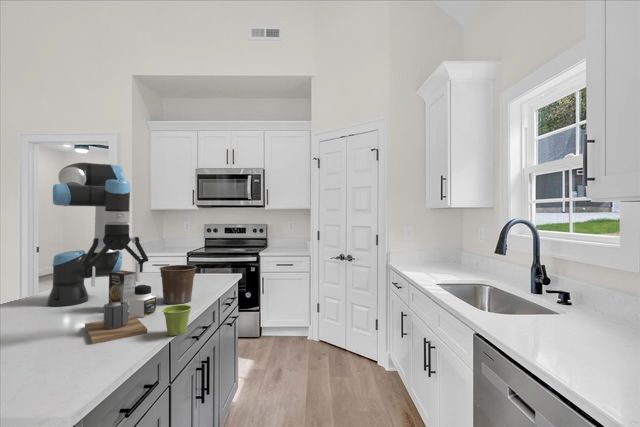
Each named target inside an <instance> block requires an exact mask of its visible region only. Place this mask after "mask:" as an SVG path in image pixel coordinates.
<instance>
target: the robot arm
mask: <svg viewBox="0 0 640 427" xmlns="http://www.w3.org/2000/svg"><path fill="white" fill-rule="evenodd" d="M57 177H58V181H59V183H56V184H54V185H52V203H53V205H54V206H62V207H95V210H94V211H95V215H94V216H95V217H94V238H93V240H92V244H91V246H90V247H89V249H88V250H87V253H86V251H85V250H84V249H83V250H80V249H79V250H72V251H65V252H62V253H61V252H60V253H57V254H56V255H54V257H53V260H52V261H53V263H52V268H53V270H52V288H51V291H50V293H49V295H48V298H47V303H46V304H48V305H47V306H49V305H50V306H49V307H66V306H68V305H69V306H74V305H80V304H83V303H86V302H88V301H89V293H88V291H87V288H86V285H85V279H91V287H93V288H95V287H96V278H104V277H108V278H109V272H113V271H121V268H122V263H123V253H122V251H123V250H126V252H127V253H128V254H129V255H131V256H132V258H133V259H135V260H136V261H137V262H136V263H135V272H136V283H140V281H141V280H140V276H141V275H140V273H143V271H144V270H143V268H144V263H147V262H149V257H148V256H147V254H146V252H145V250H144V248H143V247H142V244H141V243H140V237H139V236H134V237H133V236H132V237H130V224H129V223H130V200H131V183H130V181H128V180H125V173H124V170H123V168H122V166H119V165H117V164H116V165H114V164H112V163H111V164H107V163H93V162H76V163H75V162H74V163H71V164H69V165H66V166H64V167H63V168H61V170H60V171H59V173H58V176H57ZM131 242H132V243H133V244H134V246H135V247H136V249H137V251H138V252H139V255H140V256H141V257H139V255H138V254H137V253H136V252H135V251H134V250H133V249H131V247H130V246H129V245H130V243H131Z"/></svg>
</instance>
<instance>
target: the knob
mask: <svg viewBox="0 0 640 427" xmlns="http://www.w3.org/2000/svg"><path fill="white" fill-rule="evenodd" d="M112 303H117V302H111V303H109V302H108V303H105V304H103V320H104V322H103V325H104V327H118V326H123V325H125V324H127V323H128V316H129V310H128V303H127V302H119V303H121V305H118V306H111V304H112Z"/></svg>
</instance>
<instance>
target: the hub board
mask: <svg viewBox="0 0 640 427" xmlns="http://www.w3.org/2000/svg"><path fill="white" fill-rule="evenodd" d="M118 305H121V303H119V302H117V303H112V304H111V306H118ZM103 322H104V319H103V320H99V321H93V322H85V323H84V329H85V331H86V333H87V336H88V338H89V341H90V343H91V345H96V344H100V343H106V342H111V341H116V340H120V339H125V338H130V337H136V336H141V335H146V334H148V328H147V327H146V325H144V324H143V323H142V322H141V321H140V320H139V318H138V317H136V316H135V315H134V316H129V315H128V323H127V324H125V325H123V326H118V327H104V325H103Z"/></svg>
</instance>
